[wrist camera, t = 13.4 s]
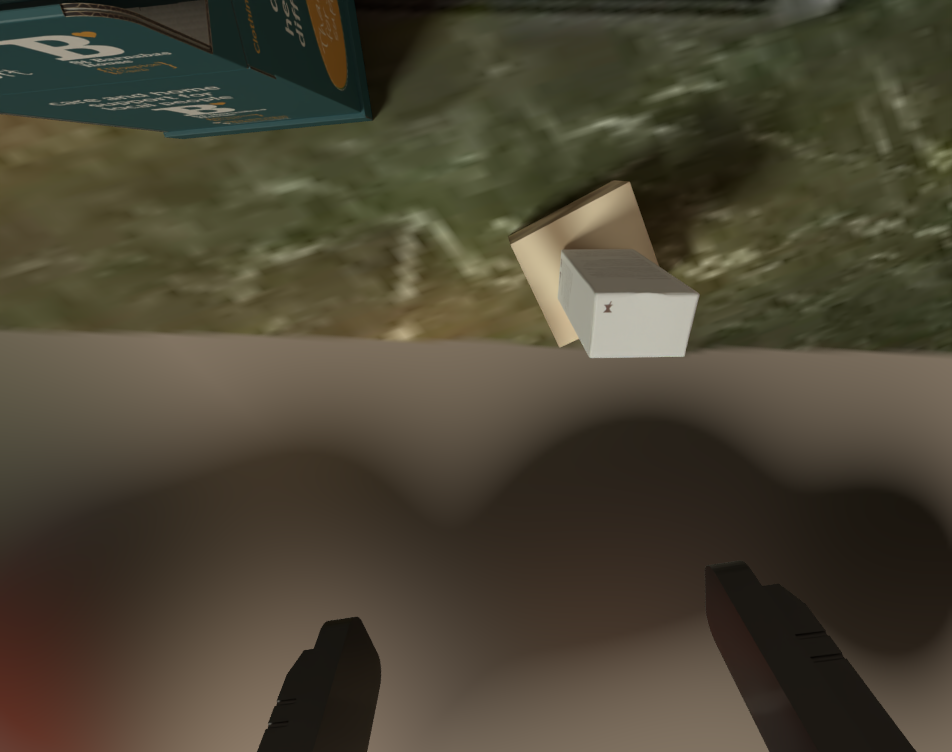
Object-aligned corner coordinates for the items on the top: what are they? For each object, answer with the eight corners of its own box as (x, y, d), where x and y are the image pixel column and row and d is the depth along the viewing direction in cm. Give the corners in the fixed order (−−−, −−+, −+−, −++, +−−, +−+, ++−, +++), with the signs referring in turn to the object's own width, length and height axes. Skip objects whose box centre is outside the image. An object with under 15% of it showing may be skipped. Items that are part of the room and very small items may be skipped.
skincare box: (556, 299, 38) (585, 359, 27) (560, 248, 36) (593, 291, 25) (628, 299, 38) (686, 359, 27) (636, 247, 36) (702, 290, 25)
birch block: (612, 179, 38) (629, 181, 34) (649, 282, 42) (669, 296, 37) (507, 235, 40) (510, 244, 36) (552, 329, 44) (559, 347, 40)
